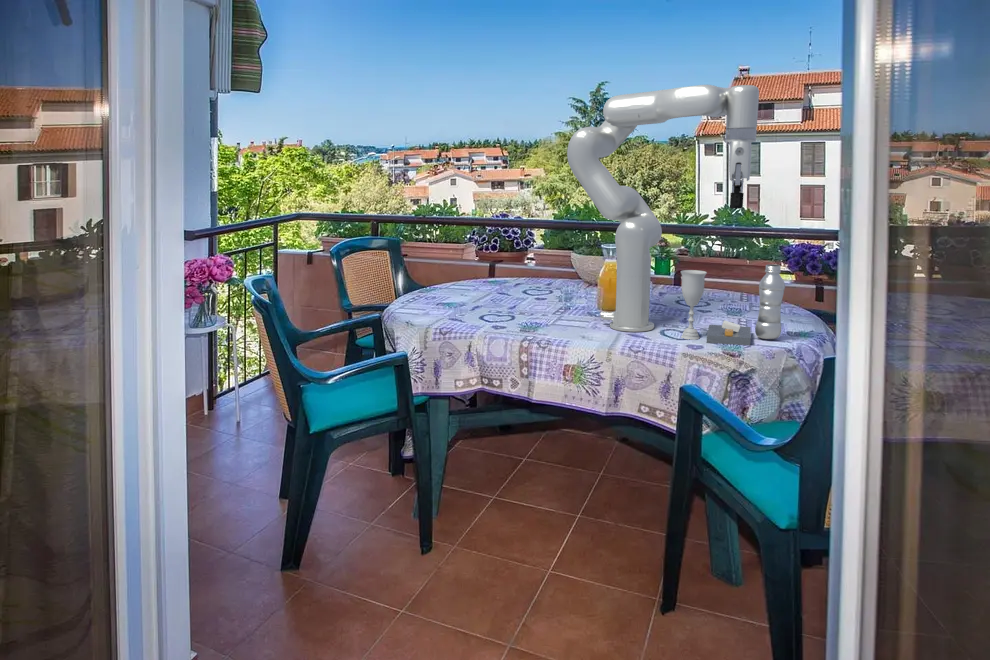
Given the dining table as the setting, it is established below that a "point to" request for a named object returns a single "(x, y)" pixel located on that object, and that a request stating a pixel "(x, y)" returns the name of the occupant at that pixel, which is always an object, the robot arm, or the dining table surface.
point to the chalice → (692, 297)
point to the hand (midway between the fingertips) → (736, 208)
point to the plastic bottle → (770, 303)
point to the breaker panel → (728, 335)
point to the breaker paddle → (730, 326)
